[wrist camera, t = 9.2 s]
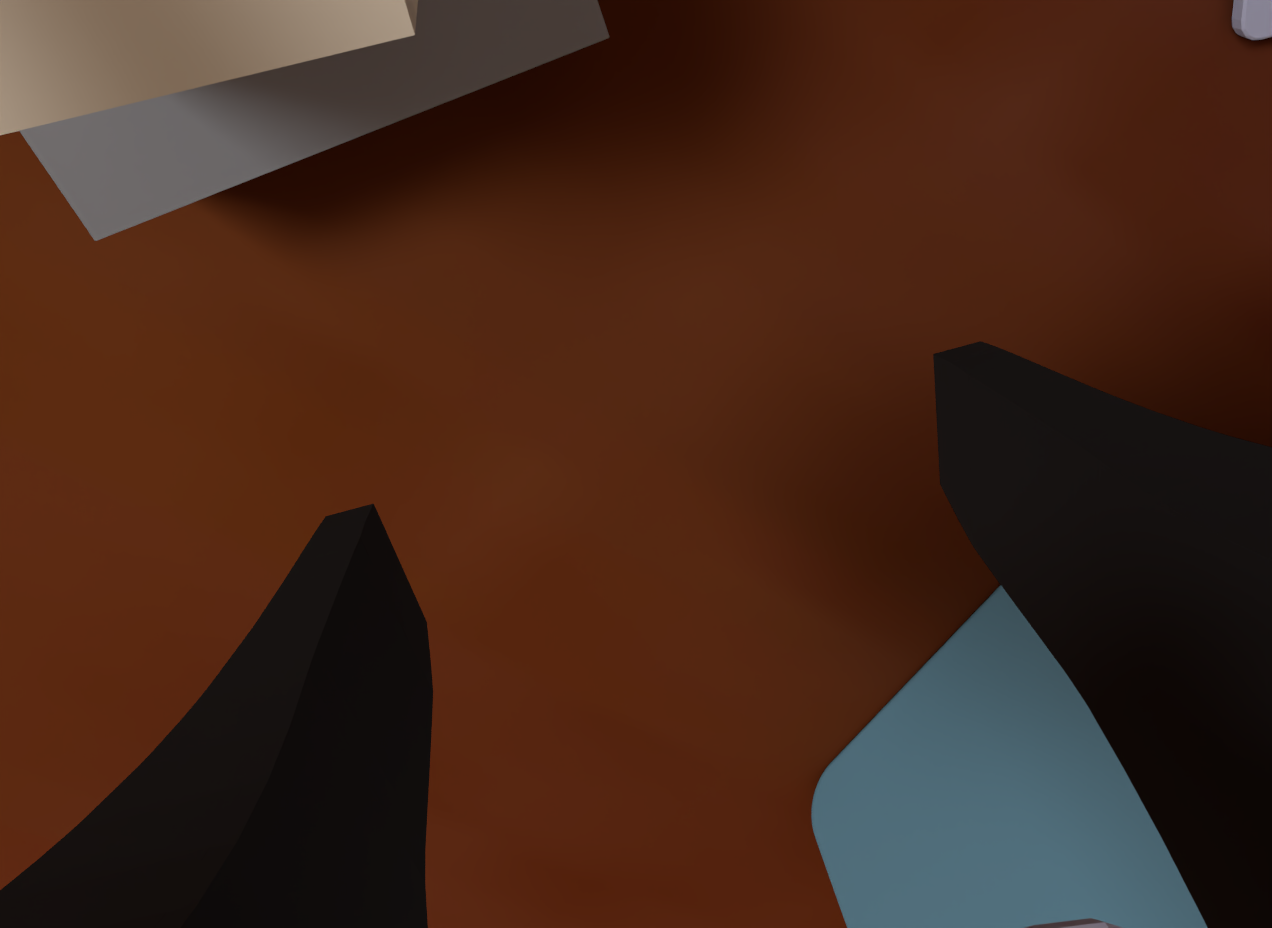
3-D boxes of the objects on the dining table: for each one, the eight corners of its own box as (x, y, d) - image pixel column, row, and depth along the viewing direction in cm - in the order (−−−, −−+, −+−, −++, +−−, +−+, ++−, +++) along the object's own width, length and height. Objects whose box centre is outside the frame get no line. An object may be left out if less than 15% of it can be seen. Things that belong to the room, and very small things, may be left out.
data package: (897, 826, 35) (1076, 1234, 25) (795, 793, 34) (945, 1219, 24) (1156, 577, 31) (1498, 958, 21) (1053, 522, 29) (1375, 912, 19)
